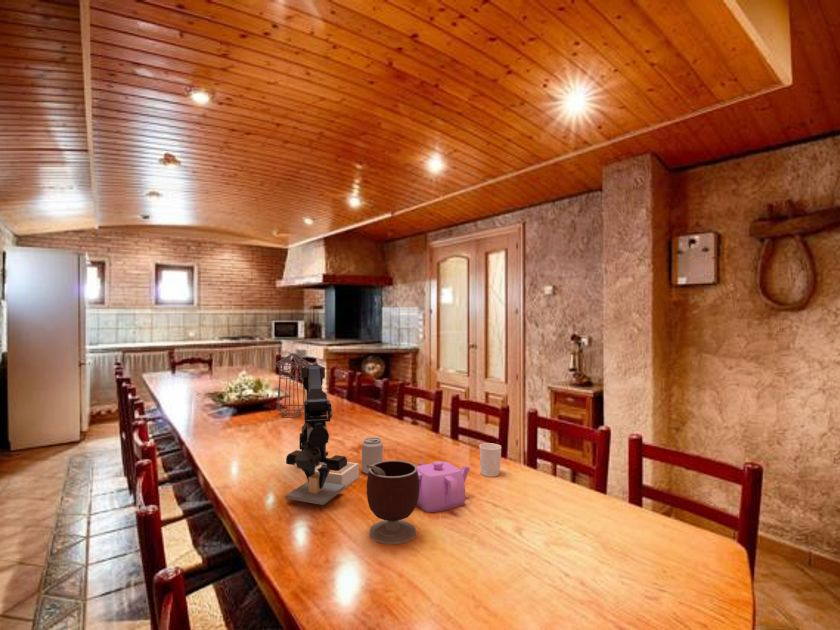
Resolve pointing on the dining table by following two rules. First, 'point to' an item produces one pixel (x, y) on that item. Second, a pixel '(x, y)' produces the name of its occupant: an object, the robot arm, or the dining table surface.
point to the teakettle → (441, 486)
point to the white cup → (490, 459)
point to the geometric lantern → (289, 384)
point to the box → (343, 474)
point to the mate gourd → (392, 500)
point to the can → (371, 452)
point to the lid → (315, 491)
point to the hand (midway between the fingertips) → (316, 487)
